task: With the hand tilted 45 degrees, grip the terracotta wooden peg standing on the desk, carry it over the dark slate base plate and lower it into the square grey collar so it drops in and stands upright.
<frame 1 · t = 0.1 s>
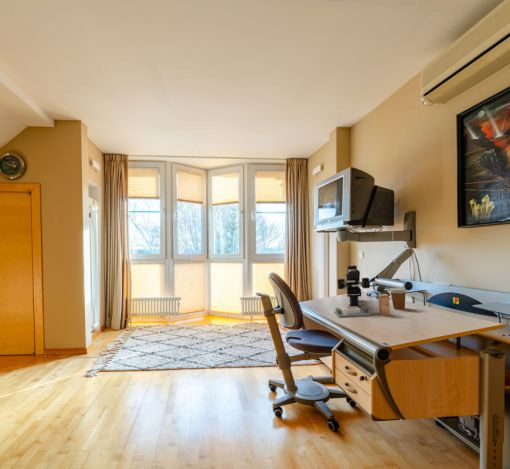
hand: (353, 285, 210), 17 cm above the table, tool horizontal, fingers open, 9 cm apart
socket plate: (352, 314, 207), on the table
peg: (384, 314, 202), on the table
disposable coffee cup: (399, 308, 216), on the table
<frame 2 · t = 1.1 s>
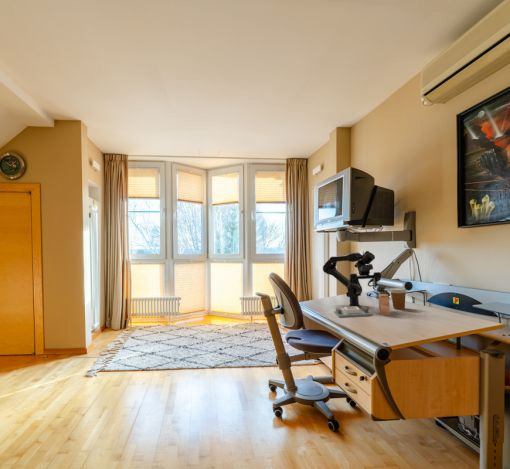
hand: (368, 287, 215), 14 cm above the table, tool tilted 45°, fingers open, 9 cm apart
nothing on the table moved.
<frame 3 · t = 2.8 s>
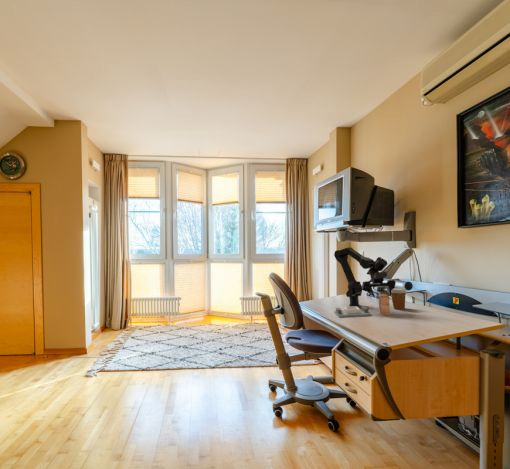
hand: (382, 296, 205), 10 cm above the table, tool tilted 45°, fingers open, 9 cm apart
nothing on the table moved.
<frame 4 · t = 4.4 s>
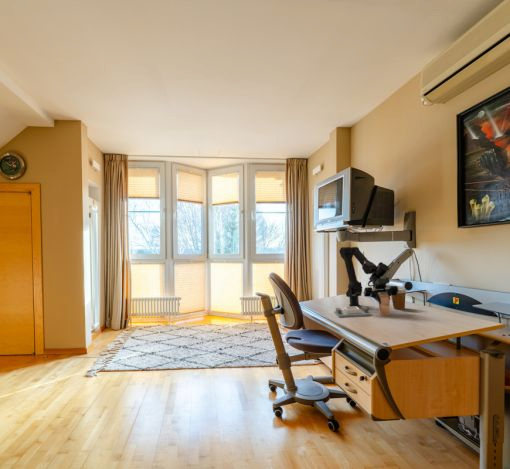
hand: (384, 303, 201), 7 cm above the table, tool tilted 45°, fingers closed on peg, 4 cm apart
peg: (384, 314, 202), on the table, touching gripper
everything else where it was.
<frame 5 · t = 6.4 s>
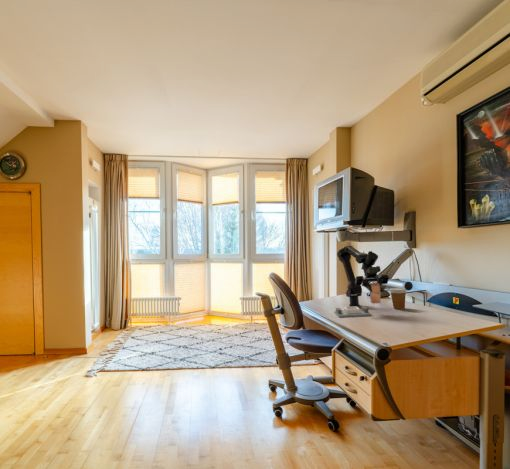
hand: (375, 291, 203), 13 cm above the table, tool tilted 45°, fingers closed on peg, 4 cm apart
peg: (375, 302, 204), point 7 cm above the table, touching gripper
everything else where it was.
when the fingers open (9 cm above the table, at t = 8.7 s): peg drops 1 cm, resting on socket plate.
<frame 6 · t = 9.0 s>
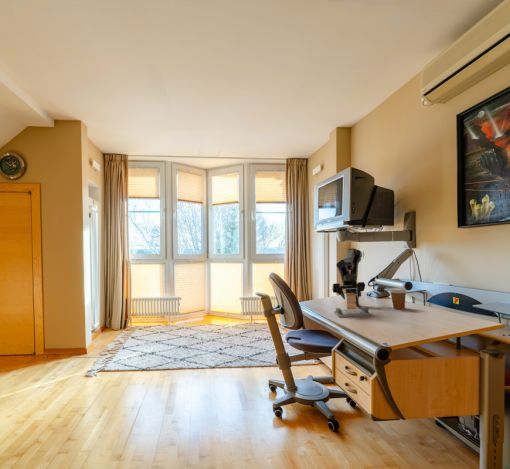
hand: (351, 298, 206), 9 cm above the table, tool tilted 45°, fingers open, 8 cm apart
peg: (352, 312, 207), point 1 cm above the table, touching socket plate
everything else where it was.
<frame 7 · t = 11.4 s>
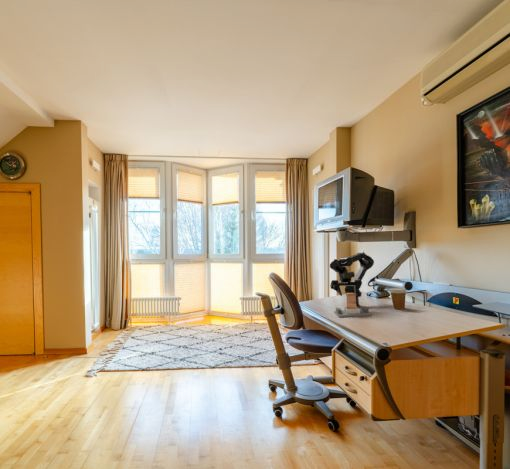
hand: (349, 295, 215), 10 cm above the table, tool tilted 40°, fingers open, 9 cm apart
nothing on the table moved.
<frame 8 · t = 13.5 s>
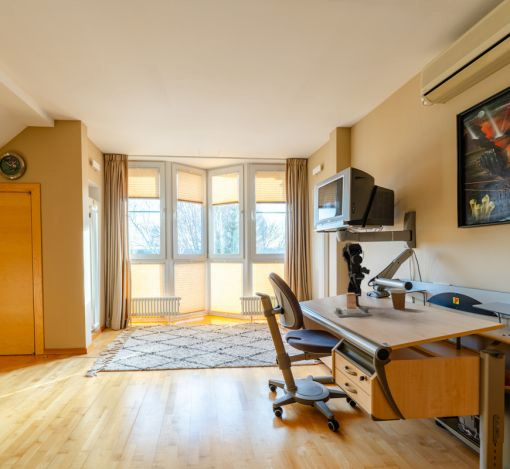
hand: (356, 288, 220), 13 cm above the table, tool pointing down, fingers open, 9 cm apart
nothing on the table moved.
at the end: peg 0.1 cm from the socket plate (horizontally); peg point 1.2 cm above the table; peg tilted 0° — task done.
